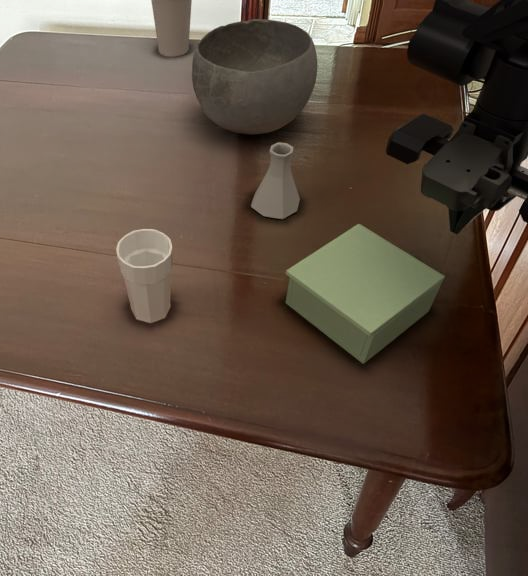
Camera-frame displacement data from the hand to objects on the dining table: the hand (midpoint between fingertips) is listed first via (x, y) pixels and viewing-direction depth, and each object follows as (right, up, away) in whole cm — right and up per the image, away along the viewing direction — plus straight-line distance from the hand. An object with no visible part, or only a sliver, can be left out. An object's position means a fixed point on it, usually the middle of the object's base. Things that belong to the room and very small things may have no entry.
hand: (455, 231), depth 63 cm
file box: (-8, -9, +9) cm, 15 cm away
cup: (-34, -9, +12) cm, 37 cm away
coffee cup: (-28, +45, +60) cm, 80 cm away
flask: (-15, +6, +24) cm, 29 cm away
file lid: (-9, -5, +4) cm, 11 cm away
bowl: (-16, +23, +39) cm, 48 cm away
